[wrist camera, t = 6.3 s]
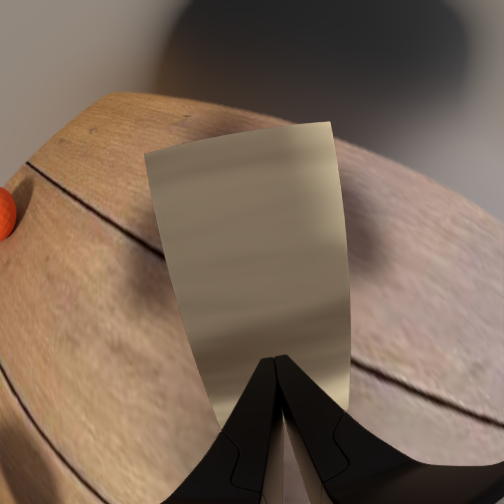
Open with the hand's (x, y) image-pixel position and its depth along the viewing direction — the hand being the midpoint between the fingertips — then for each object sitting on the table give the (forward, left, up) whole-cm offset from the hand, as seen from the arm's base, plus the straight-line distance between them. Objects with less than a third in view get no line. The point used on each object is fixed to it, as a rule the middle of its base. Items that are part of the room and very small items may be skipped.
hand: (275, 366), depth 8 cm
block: (0, 0, -6) cm, 7 cm away
